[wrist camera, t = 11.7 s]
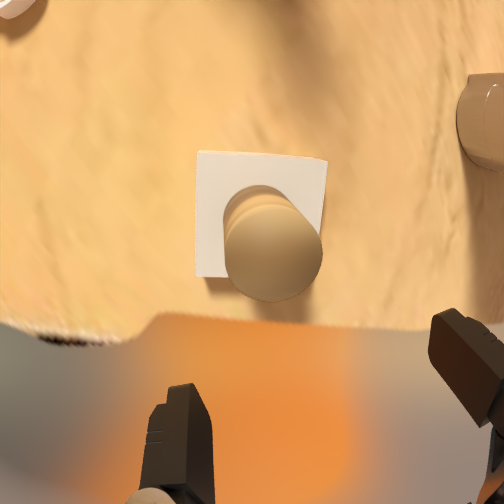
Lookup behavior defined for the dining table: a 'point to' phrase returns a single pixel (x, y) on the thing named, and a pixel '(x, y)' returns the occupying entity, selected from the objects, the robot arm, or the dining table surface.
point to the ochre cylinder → (269, 245)
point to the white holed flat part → (14, 7)
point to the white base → (241, 176)
